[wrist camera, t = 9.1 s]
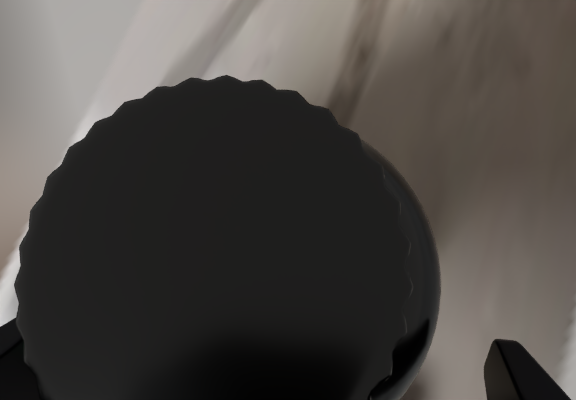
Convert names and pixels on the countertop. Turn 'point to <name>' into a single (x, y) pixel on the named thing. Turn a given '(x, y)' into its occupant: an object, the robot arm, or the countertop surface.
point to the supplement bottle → (226, 256)
